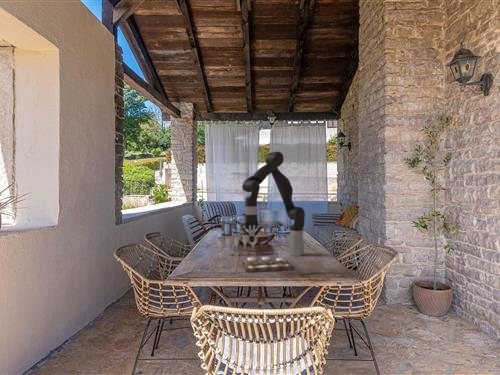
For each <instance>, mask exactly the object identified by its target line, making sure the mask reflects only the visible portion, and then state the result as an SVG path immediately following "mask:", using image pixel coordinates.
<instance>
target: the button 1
mask: <svg viewBox="0 0 500 375" xmlns="http://www.w3.org/2000/svg"><path fill="white" fill-rule="evenodd" d="M246 260H247V262H256V260H257V259H256V257H254V256H252V257H247V259H246Z"/></svg>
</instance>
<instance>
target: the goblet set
mask: <svg viewBox="0 0 500 375" xmlns="http://www.w3.org/2000/svg"><path fill="white" fill-rule="evenodd" d="M232 242H233V243H234V245H235V247H236V250H238V246H239V243H240V236H239V235H237V234H236V235H234V237H233V236H232V235H225V236H224V237H222V236H219V237H216V243H217V245H218V247H219V251H220V252H219V253H218V254H217V256H224V254H223V253H222V252H221V251H222V246H223V244H224V243H225V244H226V246H227V249H228V253H225V256H231V255H234V256H239V254H240V253H234V254H233V253H230V246H231V244H232ZM247 243H249V245H251V247H252V249H254V247H255V246H256V244H257V243H258V238H257V236H254V241H253V242H250V241H249V240H248V236H247V235H246V234H244V235H242V244H243V246H244V248H246V246H247ZM243 254H244V255H243V256H247V255H246V254H247V253H243ZM250 254H256V253H255V252H251V253H250Z"/></svg>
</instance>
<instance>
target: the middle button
mask: <svg viewBox="0 0 500 375" xmlns="http://www.w3.org/2000/svg"><path fill="white" fill-rule="evenodd" d="M261 259H262V261H270V259H271V257H270V256H262V257H261Z"/></svg>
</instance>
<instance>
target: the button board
mask: <svg viewBox="0 0 500 375" xmlns="http://www.w3.org/2000/svg"><path fill="white" fill-rule="evenodd" d="M277 258H278V257H277ZM277 258H276V257H274V258H273V259H271V258H270V261H262V258H259V261H258V260H257V259H256V262H247V259H244V261H242V262H241V266H242V268H243V269H244V271H245V273H257V272H258V273H259V272H273V271H291V270H294V266H293V264H291V263H290V262H289V261H288V259H286V257H283V258H284V259H285V260H281V261H277V260H276V259H277Z"/></svg>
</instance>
